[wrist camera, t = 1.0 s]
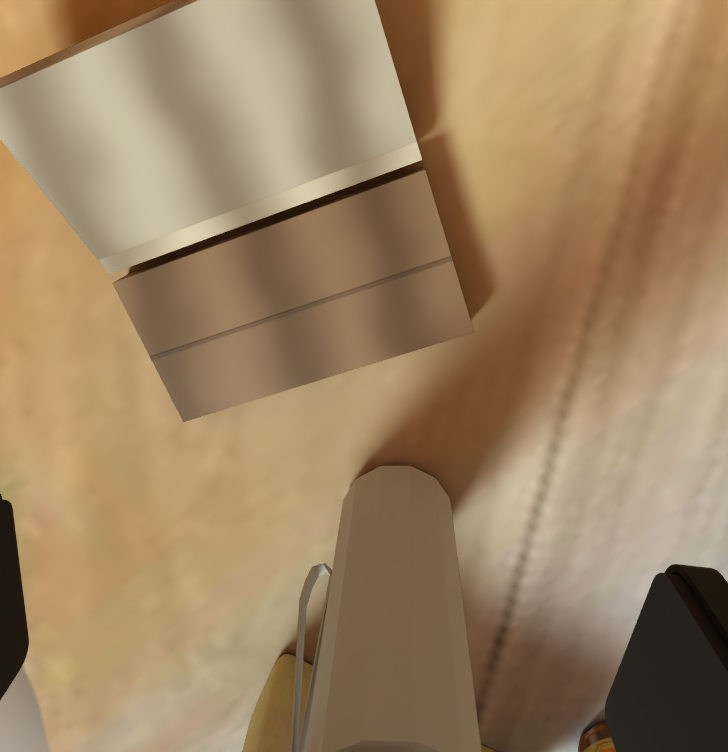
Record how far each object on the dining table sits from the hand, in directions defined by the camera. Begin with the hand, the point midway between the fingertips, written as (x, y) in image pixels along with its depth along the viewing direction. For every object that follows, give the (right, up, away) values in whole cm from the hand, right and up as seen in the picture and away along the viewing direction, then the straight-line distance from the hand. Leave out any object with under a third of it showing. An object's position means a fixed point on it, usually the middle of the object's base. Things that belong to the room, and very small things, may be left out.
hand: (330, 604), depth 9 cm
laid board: (-3, +8, +27) cm, 28 cm away
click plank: (-7, +16, +21) cm, 28 cm away
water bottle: (+2, -5, +32) cm, 33 cm away
